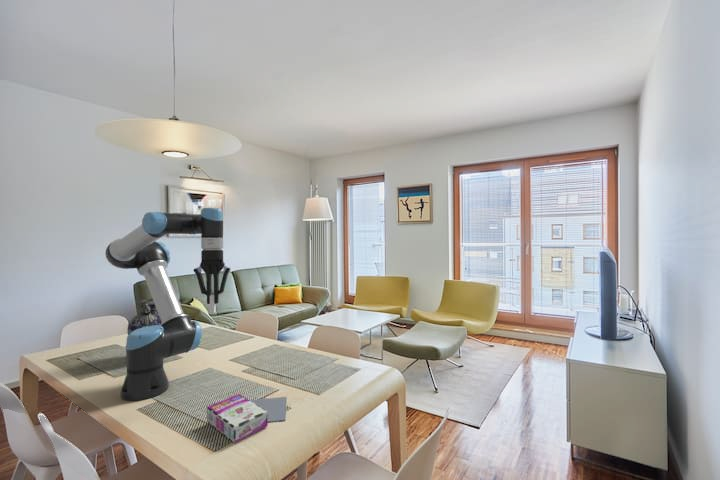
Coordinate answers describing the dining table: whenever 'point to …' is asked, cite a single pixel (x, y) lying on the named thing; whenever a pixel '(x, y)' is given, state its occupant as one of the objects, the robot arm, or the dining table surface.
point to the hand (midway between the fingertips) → (212, 312)
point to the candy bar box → (237, 417)
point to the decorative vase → (145, 316)
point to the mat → (273, 408)
